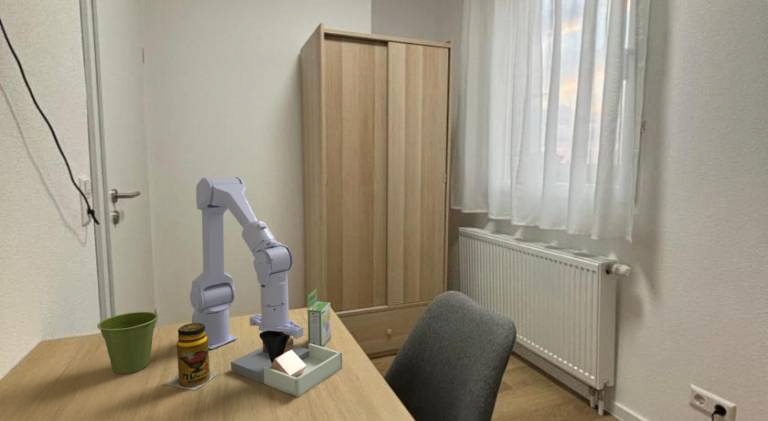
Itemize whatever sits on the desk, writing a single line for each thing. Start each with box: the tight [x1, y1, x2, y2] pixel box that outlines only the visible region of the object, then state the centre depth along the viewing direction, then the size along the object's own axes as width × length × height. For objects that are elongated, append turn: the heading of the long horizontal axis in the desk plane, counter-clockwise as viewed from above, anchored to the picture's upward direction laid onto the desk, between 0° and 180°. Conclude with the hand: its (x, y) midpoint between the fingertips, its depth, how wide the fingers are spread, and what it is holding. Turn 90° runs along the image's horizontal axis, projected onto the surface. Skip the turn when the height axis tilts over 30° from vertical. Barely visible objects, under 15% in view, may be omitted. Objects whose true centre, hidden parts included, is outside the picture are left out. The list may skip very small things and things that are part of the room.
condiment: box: [163, 322, 220, 391], centre depth 89 cm, size 7×8×12 cm
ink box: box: [306, 288, 332, 348], centre depth 107 cm, size 7×4×13 cm, turn 168°
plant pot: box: [96, 311, 159, 375], centre depth 95 cm, size 12×12×11 cm
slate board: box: [230, 344, 309, 384], centre depth 96 cm, size 11×14×2 cm
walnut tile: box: [262, 337, 294, 353], centre depth 99 cm, size 5×5×2 cm
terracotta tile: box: [271, 350, 306, 377], centre depth 89 cm, size 5×5×2 cm
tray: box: [263, 343, 343, 398], centre depth 90 cm, size 10×14×4 cm
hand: (276, 362), depth 91 cm, fingers closed
